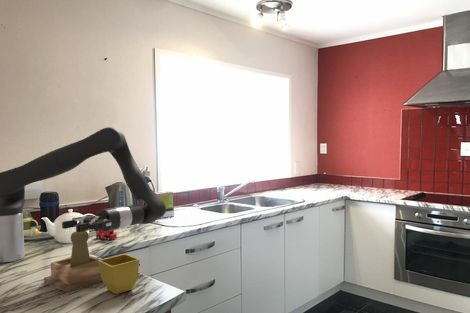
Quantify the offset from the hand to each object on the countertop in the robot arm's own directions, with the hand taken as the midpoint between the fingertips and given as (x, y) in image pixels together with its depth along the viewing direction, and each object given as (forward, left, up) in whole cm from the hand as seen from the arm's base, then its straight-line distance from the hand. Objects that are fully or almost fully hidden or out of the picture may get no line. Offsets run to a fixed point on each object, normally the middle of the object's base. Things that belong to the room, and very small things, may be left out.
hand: (69, 227), depth 114 cm
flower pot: (+18, +5, -17) cm, 26 cm away
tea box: (-59, +85, -17) cm, 105 cm away
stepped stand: (0, +2, -17) cm, 17 cm away
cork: (+1, +2, -13) cm, 13 cm away
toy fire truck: (-38, +38, -17) cm, 56 cm away
